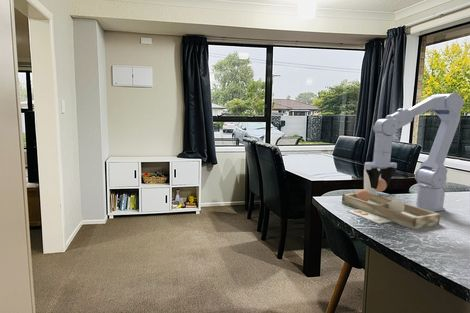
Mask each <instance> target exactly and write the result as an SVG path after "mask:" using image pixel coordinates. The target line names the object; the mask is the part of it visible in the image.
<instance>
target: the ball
mask: <svg viewBox="0 0 470 313" xmlns="http://www.w3.org/2000/svg"><path fill="white" fill-rule="evenodd" d="M356 193H357V199H360V200H363V201H366V202H367V201H368V200H369V199H370V194H369V192H368V191H367V190H364V189H359V190H358V191H357V192H356Z"/></svg>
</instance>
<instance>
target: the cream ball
mask: <svg viewBox="0 0 470 313" xmlns="http://www.w3.org/2000/svg"><path fill="white" fill-rule="evenodd" d="M404 207H405V206H404V202H403V201H402V200H400V199H397V198H395V199H392V201H391V202H390V203H389V209H391V210H394V211H397V212H400V213H401V212H403V210H404Z"/></svg>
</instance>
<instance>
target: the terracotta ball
mask: <svg viewBox="0 0 470 313" xmlns="http://www.w3.org/2000/svg"><path fill="white" fill-rule="evenodd" d="M386 187H387V184H386V181H385V180H384V179H381V177H380V178H379V180H378V186H377V189H374V188H373V189H374V190H376V191H378V192H377V193H379V192H383V191H385V190H386ZM387 188H388V187H387Z"/></svg>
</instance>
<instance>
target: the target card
mask: <svg viewBox="0 0 470 313" xmlns="http://www.w3.org/2000/svg"><path fill="white" fill-rule="evenodd" d="M347 212H348V213H350V214H352V215H355V216H357V217H360V218H363V219H365V220H368V221H369V222H373V223H376V224H378V225H383V224H386V223H391V222H392V221H391V220H388V219H385V218H382V217H380V216H377V215H374V214H371V213H369V212H366V211H363V210H360V209H357V208H355V209H351V210H347ZM392 223H393V222H392Z"/></svg>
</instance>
